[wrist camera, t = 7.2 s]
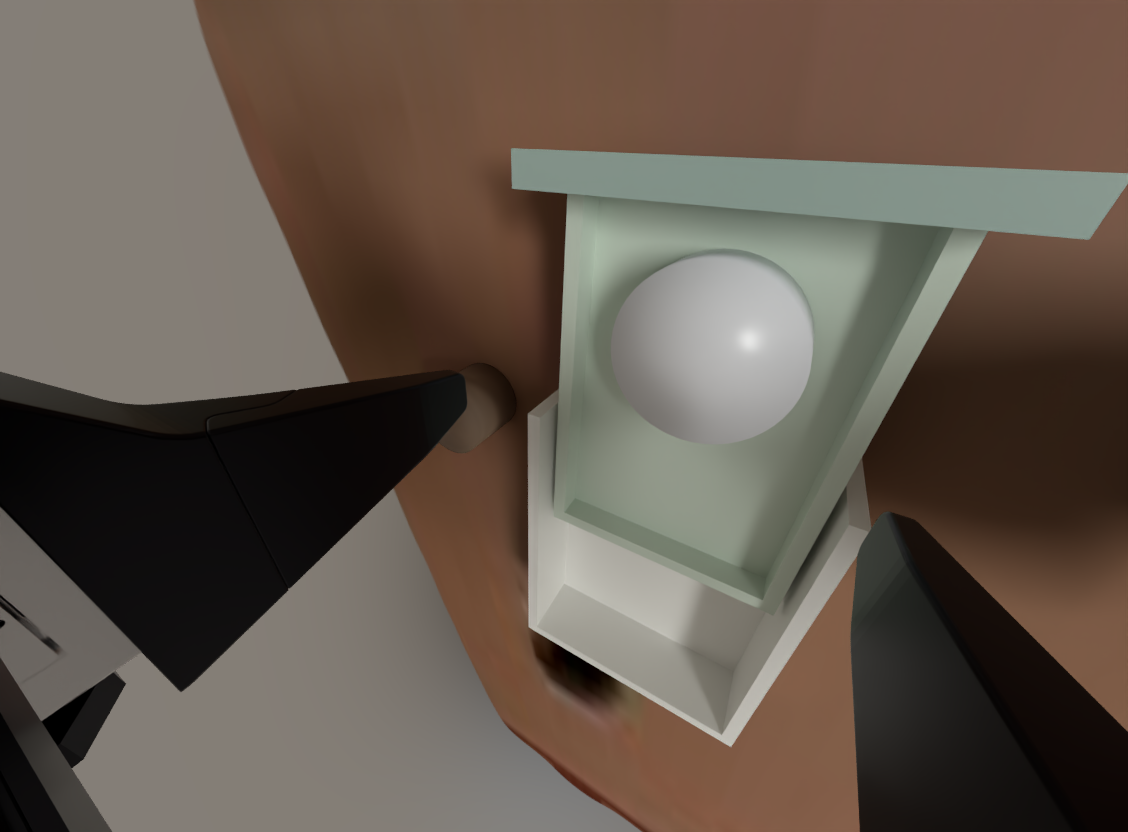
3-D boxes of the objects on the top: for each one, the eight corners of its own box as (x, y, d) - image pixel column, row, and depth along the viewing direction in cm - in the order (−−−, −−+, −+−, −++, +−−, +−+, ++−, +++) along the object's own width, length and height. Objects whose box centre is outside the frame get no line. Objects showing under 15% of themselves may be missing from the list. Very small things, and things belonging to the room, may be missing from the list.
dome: (847, 261, 11) (849, 275, 10) (779, 437, 14) (773, 468, 13) (643, 238, 14) (620, 246, 12) (623, 393, 17) (603, 414, 15)
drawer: (1037, 174, 10) (1134, 173, 7) (799, 585, 18) (794, 667, 15) (576, 153, 14) (511, 148, 11) (559, 485, 23) (519, 532, 20)
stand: (515, 372, 22) (474, 399, 20) (516, 432, 25) (479, 462, 22) (459, 356, 24) (414, 378, 21) (465, 413, 26) (425, 439, 23)
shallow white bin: (861, 455, 16) (871, 532, 12) (743, 666, 24) (730, 747, 21) (577, 373, 20) (527, 413, 17) (563, 574, 29) (528, 627, 26)
